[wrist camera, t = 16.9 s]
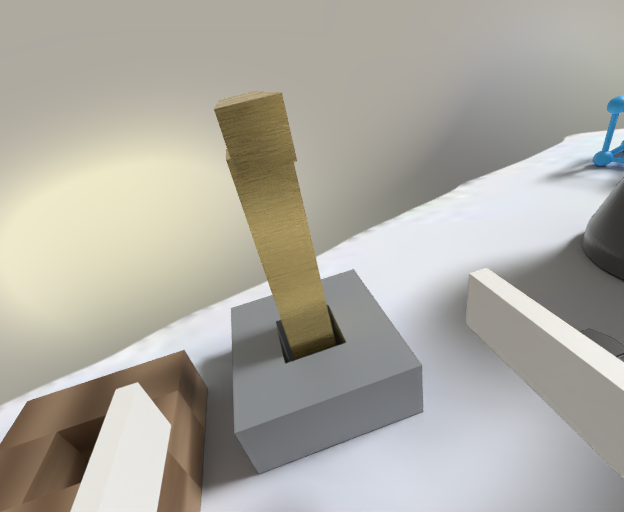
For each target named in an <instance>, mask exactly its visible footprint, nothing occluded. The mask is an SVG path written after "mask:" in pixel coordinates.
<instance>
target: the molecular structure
mask: <svg viewBox="0 0 624 512" xmlns="http://www.w3.org/2000/svg"><path fill="white" fill-rule="evenodd" d="M607 110H608V112H610V113H612V117H611V120H610V124H609V127H608V131H607V134H606V138H605V142H604V145H603V149H602V151H600V152H598V153H597V154H595V156H594V157H593V162H594V164H596V165H598V166H605V165H607V164H609V163H610V162H618V163H624V158H620V157H613V156H614V155H616V154H618V153H620V152H622V151H624V141H622V143H621V145H620V146H619V147H617V148H615V149H614V150H612V151H608V150H609V146H610V143H611V140H612V136H613V133H614V129H615V126H616V122H617V119H618V115H619V113H621V112H624V96H618V97H615V98H613V99H612V100H611V101H610V102H609V103H608V105H607Z"/></svg>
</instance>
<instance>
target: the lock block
mask: <svg viewBox="0 0 624 512" xmlns="http://www.w3.org/2000/svg"><path fill="white" fill-rule="evenodd" d="M137 382H138V383H139V384H140V386H141V387H142V388H143V389H144V391H145V392H146V393H147V395H148V396H149V397H150V399H151V400H152V401H153V402H154V404H155V405H156V406H157V408H158V409H159V410H160V411H161V413H162V414H163V415H164V417H165V418H166V419H167V420H168V422H169V423H170V424H171V430H170V436H169V442H168V448H167V454H166V460H165V466H164V472H163V478H162V484H161V490H160V496H159V502H158V508H157V512H200V505H201V489H202V472H203V455H204V439H205V422H206V405H207V387H206V385H205V383H204V382H203V380H202V378H201V377H200V375H199V373H198V372H197V370H196V368H195V367H194V365H193V363H192V362H191V360H190V358H189V357H188V355H187V353H186V352H185V350H183V351H180V352H177V353H173V354H170V355H167V356H164V357H161V358H158V359H155V360H152V361H149V362H146V363H143V364H140V365H137V366H134V367H131V368H128V369H125V370H122V371H118V372H115V373H112V374H109V375H106V376H103V377H100V378H97V379H94V380H91V381H88V382H85V383H82V384H79V385H76V386H73V387H70V388H67V389H63V390H60V391H57V392H54V393H51V394H48V395H45V396H42V397H39V398H36V399H33V400H30V401H27V403H26V404H25V406H24V408H23V409H22V411H21V412H20V414H19V415H18V417H17V419H16V420H15V422H14V423H13V425H12V426H11V428H10V430H9V431H8V433H7V434H6V436H5V437H4V439H3V441H2V442H1V444H0V512H70V511H71V509H72V506H73V503H74V500H75V498H76V495H77V492H78V490H79V487H80V484H81V482H82V479H83V476H84V474H85V471H86V468H87V466H88V463H89V460H90V457H91V455H92V452H93V449H94V447H95V444H96V441H97V439H98V436H99V433H100V431H101V428H102V425H103V423H104V420H105V417H106V414H107V412H108V409H109V406H110V404H111V401H112V398H113V396H114V393H115V390H116V389H118V388H121V387H125V386H128V385H131V384H134V383H137Z"/></svg>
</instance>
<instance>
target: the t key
mask: <svg viewBox="0 0 624 512" xmlns="http://www.w3.org/2000/svg"><path fill="white" fill-rule="evenodd" d="M214 111H215V113H216V116H217V119H218V122H219V125H220V128H221V131H222V134H223V137H224V140H225V143H226V146H227V149H226V161H227V163H228V166H229V169H230V172H231V175H232V178H233V181H234V184H235V187H236V190H237V192H238V196H239V199H240V201H241V204H242V207H243V210H244V213H245V216H246V219H247V222H248V225H249V228H250V231H251V233H252V236H253V239H254V242H255V245H256V248H257V251H258V254H259V257H260V260H261V262H262V266H263V269H264V271H265V274H266V277H267V280H268V283H269V286H270V289H271V292H272V295H273V298H274V301H275V304H276V306H277V309H278V312H279V315H280V318H281V321H282V324H283V327H284V330H285V333H286V336H287V339H288V341H289V344H290V347H291V350H292V353H293V356H294V359H295V360H298V359H301V358H303V357H306V356H309V355H312V354H315V353H318V352H321V351H324V350H327V349H330V348H332V347H335V346H336V343H335V339H334V335H333V330H332V326H331V322H330V317H329V313H328V309H327V304H326V300H325V296H324V291H323V287H322V283H321V279H320V274H319V270H318V266H317V261H316V257H315V253H314V248H313V244H312V240H311V235H310V231H309V227H308V222H307V218H306V214H305V209H304V205H303V201H302V197H301V193H300V188H299V184H298V179H297V175H296V171H295V166H294V162H295V161H297V158H296V154H295V150H294V145H293V140H292V136H291V132H290V127H289V123H288V118H287V115H286V110H285V105H284V101H283V96H282V93H279V92H261V91H254V92H250V93H246V94H242V95H238V96H233V97H229V98H225V99H221V100H219V101H218V103H217V105H216V107H215V109H214Z"/></svg>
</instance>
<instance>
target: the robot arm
mask: <svg viewBox="0 0 624 512" xmlns="http://www.w3.org/2000/svg"><path fill="white" fill-rule="evenodd" d="M582 245H583V249H584V251H585V253H586V254H587V255H588V257H589V258H590V259H591V260H592V261H593V262H594V263H596V264H597V265H598V266H600V267H601V268H603V269H604V270H606V271H607V272H609V273H611V274H613V275H615V276H617V277H619V278H621V279H623V280H624V177H623V179H622V180H621V181H620V182H619V184H618V185H617V186H616V187H615V189H614V190H613V191H612V192H611V193H610V195H609V196H608V197H607V198H606V200H605V201H604V202H603V204H602V205H601V206H600V207H599V209H598V210H597V211H596V213H595V214H594V215H593V216H592V217H591V219H590V220H589V222H588V224H587V227H586V231H585V234H584V238H583V242H582ZM466 324H467V325H468V326H469V327H470V328H471V329H472V330H473V331H474V332H475V333H476V334H477V335H478V336H479V337H480V338H481V339H482V340H483V341H484V342H485V343H486V344H487V345H488V346H489V347H490V348H491V349H492V350H493V351H494V352H495V353H496V354H497V355H498V356H499V357H500V358H501V359H502V360H503V361H504V362H505V363H506V364H507V365H508V366H509V367H510V368H511V369H512V370H513V371H514V372H516V373H517V374H518V375H519V376H520V377H521V378H522V379H523V380H524V381H525V382H526V383H527V384H528V385H529V386H530V387H531V388H532V389H533V390H534V391H535V392H536V393H537V394H538V395H539V396H540V397H541V398H542V399H543V400H544V401H545V402H546V403H547V404H548V405H549V406H550V407H551V408H552V409H553V410H554V411H555V412H556V413H557V414H558V415H559V416H560V417H561V418H562V419H563V420H564V421H565V422H566V423H567V424H568V425H569V426H570V427H571V428H572V429H573V430H574V431H575V432H577V433H578V434H579V435H580V436H581V437H582V438H583V439H584V440H585V441H586V442H587V443H588V444H589V445H590V446H591V447H592V448H593V449H594V450H595V451H596V452H597V453H598V454H599V455H600V456H601V457H602V458H603V459H604V460H605V461H606V462H607V463H608V464H609V465H610V466H611V467H612V468H613V469H614V470H615V471H616V472H617V473H618V474H619V475H620V476H621V477H622V478H623V479H624V345H622V344H621V343H619V342H618V341H616V340H615V339H613V338H612V337H609V336H607V335H604V334H602V333H599V332H597V331H594V330H592V329H586V330H583V331H581V332H579V331H578V330H576V329H575V328H573V327H572V326H570V325H569V324H567V323H566V322H565V321H563V320H562V319H560V318H559V317H557V316H556V315H554V314H553V313H551V312H550V311H549V310H547V309H546V308H544V307H543V306H541V305H540V304H538V303H537V302H535V301H534V300H533V299H531V298H530V297H528V296H527V295H525V294H524V293H522V292H521V291H520V290H518V289H517V288H515V287H514V286H512V285H511V284H509V283H508V282H506V281H505V280H504V279H502V278H501V277H499V276H498V275H496V274H495V273H493V272H492V271H491V270H489V269H488V268H484V269H481V270H478V271H475V272H472V273H469V284H468V297H467V310H466ZM170 430H171V424H170V423H169V422H168V420H167V419H166V418H165V417H164V415H163V414H162V413H161V411H160V410H159V409H158V408H157V406H156V405H155V404H154V402H153V401H152V400H151V399H150V397H149V396H148V395H147V393H146V392H145V391H144V389H143V388H142V387H141V386H140V384H139V383H138V382H137V383H134V384H131V385H128V386H125V387H121V388H118V389H116V390H115V393H114V396H113V398H112V401H111V404H110V406H109V409H108V412H107V414H106V417H105V420H104V423H103V425H102V428H101V431H100V433H99V436H98V439H97V441H96V444H95V447H94V449H93V452H92V455H91V457H90V460H89V463H88V466H87V468H86V471H85V474H84V476H83V479H82V482H81V484H80V487H79V490H78V492H77V495H76V498H75V500H74V503H73V506H72V509H71V511H70V512H157V508H158V502H159V496H160V490H161V484H162V478H163V472H164V466H165V460H166V454H167V448H168V442H169V436H170Z"/></svg>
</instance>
